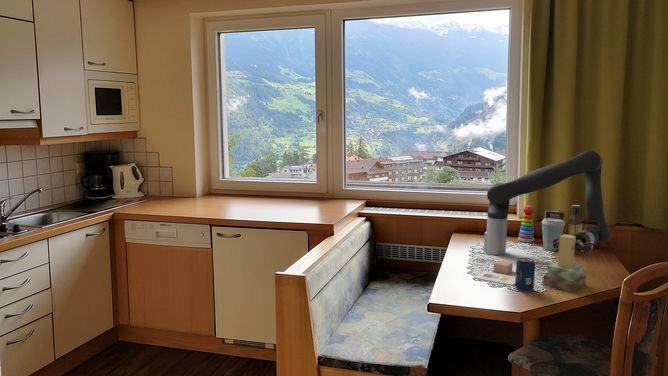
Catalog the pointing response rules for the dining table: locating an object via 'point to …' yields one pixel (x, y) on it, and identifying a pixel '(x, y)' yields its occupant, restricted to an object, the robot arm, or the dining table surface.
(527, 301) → the dining table surface
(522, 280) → the soda can
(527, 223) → the stacking toy
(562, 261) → the tall brick
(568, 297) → the dining table surface
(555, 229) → the disposable coffee cup
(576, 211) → the sauce bottle
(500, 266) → the brick
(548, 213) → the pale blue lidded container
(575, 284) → the tower base
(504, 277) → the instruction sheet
